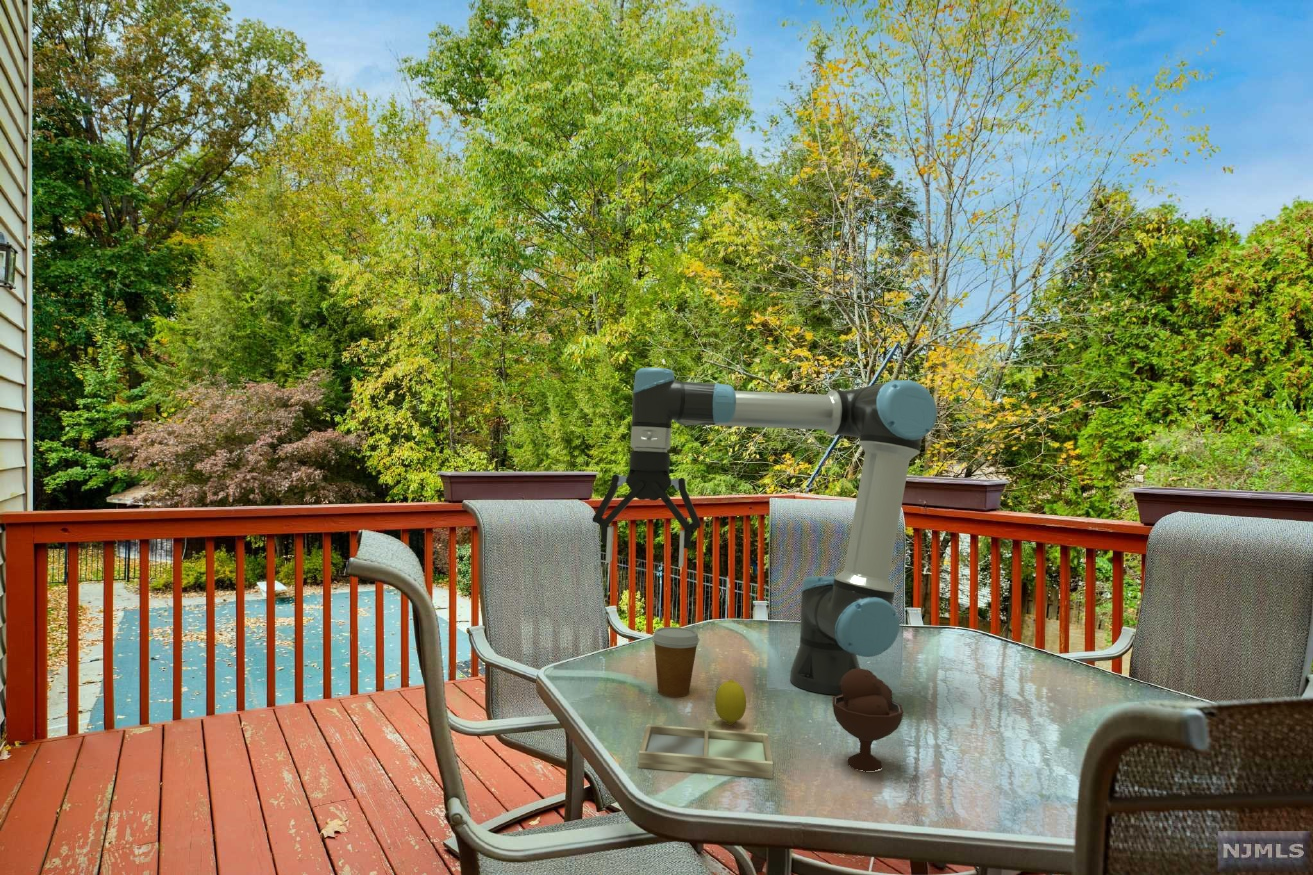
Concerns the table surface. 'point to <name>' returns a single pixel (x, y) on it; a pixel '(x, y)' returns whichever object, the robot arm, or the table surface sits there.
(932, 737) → the table surface
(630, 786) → the table surface
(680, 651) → the disposable coffee cup
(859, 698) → the ice cream bowl
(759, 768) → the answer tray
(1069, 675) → the table surface
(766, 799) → the table surface
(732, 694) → the lemon
